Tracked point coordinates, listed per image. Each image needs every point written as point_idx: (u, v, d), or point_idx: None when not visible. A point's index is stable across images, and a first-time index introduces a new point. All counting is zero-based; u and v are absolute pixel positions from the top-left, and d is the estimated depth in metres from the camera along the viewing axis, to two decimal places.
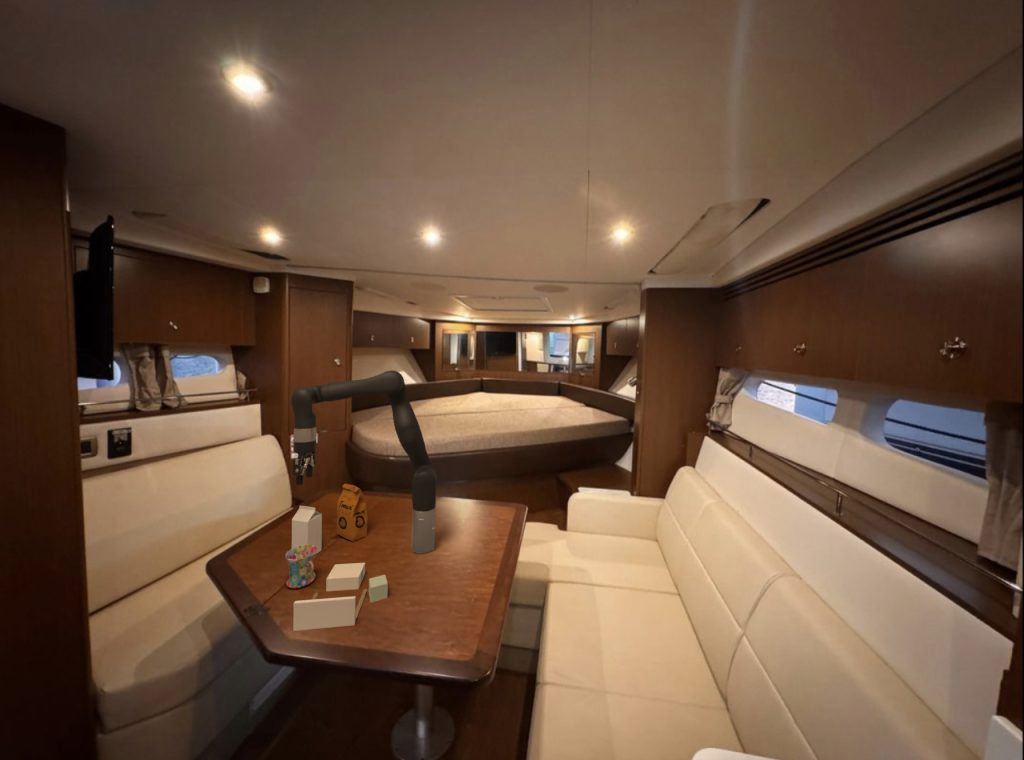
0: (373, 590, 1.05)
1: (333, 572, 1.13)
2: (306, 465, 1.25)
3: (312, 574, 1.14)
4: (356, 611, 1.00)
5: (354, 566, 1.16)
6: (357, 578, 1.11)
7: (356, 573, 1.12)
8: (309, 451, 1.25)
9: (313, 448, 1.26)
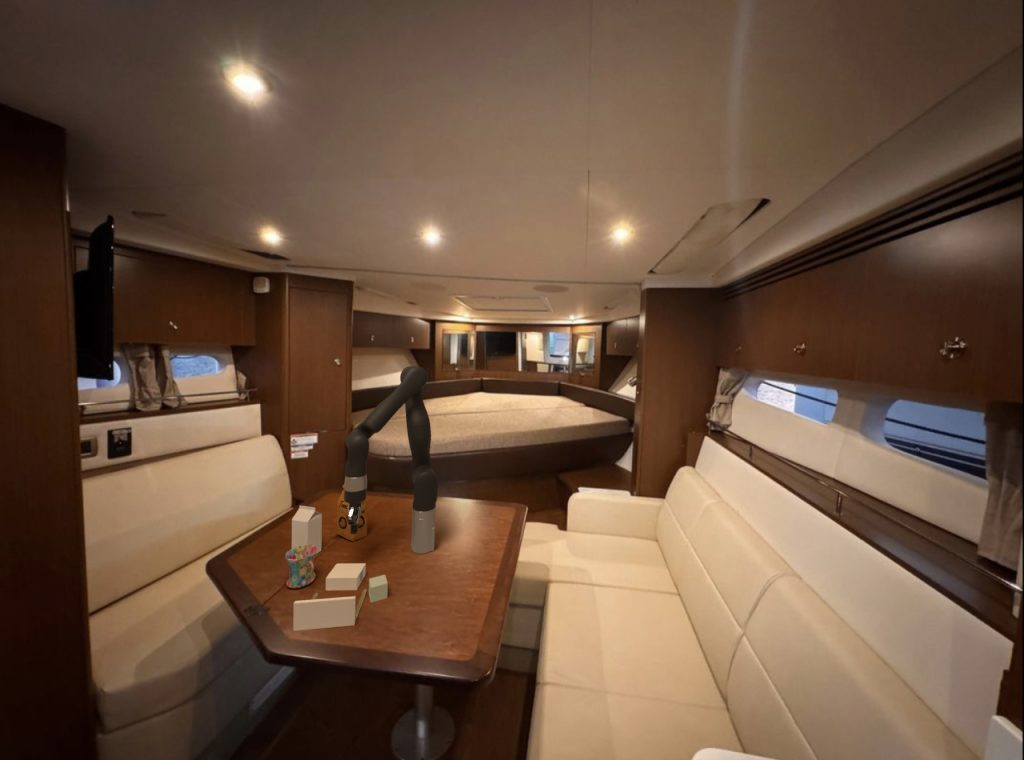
0: (373, 590, 1.05)
1: (333, 571, 1.13)
2: (358, 514, 1.21)
3: (312, 574, 1.14)
4: (356, 611, 1.00)
5: (354, 567, 1.16)
6: (355, 579, 1.10)
7: (355, 574, 1.12)
8: (360, 500, 1.20)
9: (364, 496, 1.21)
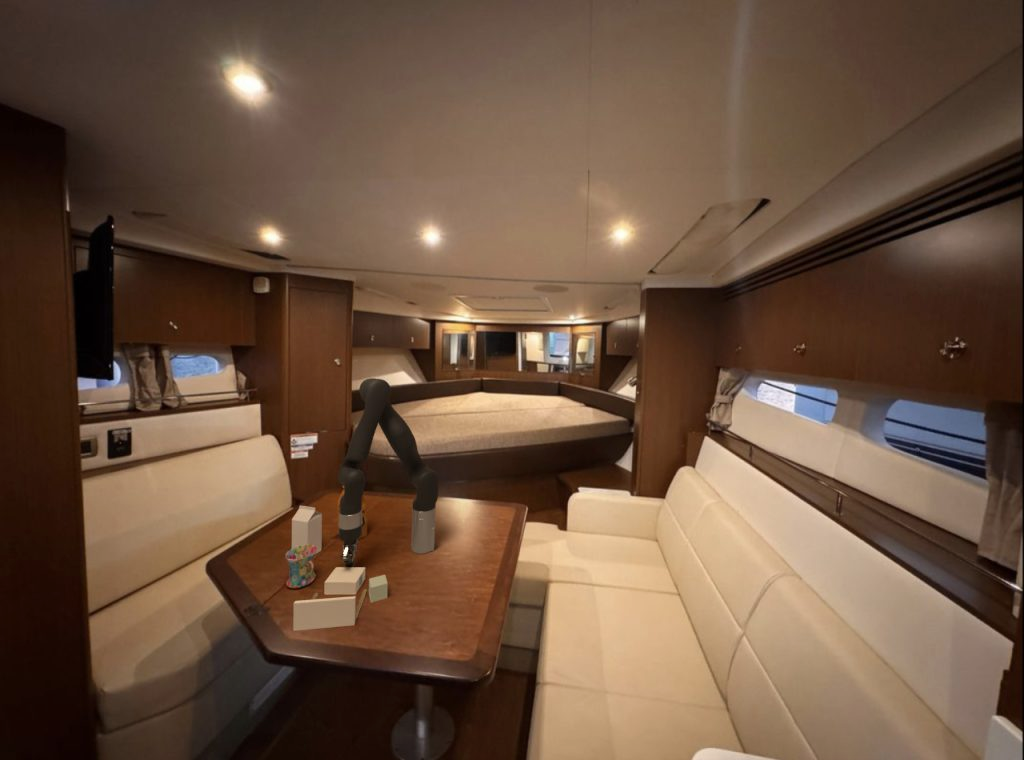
0: (373, 590, 1.05)
1: (332, 575, 1.11)
2: (354, 551, 1.17)
3: (312, 574, 1.14)
4: (356, 611, 1.00)
5: (354, 571, 1.14)
6: (354, 583, 1.08)
7: (354, 578, 1.10)
8: (355, 538, 1.16)
9: (359, 533, 1.17)
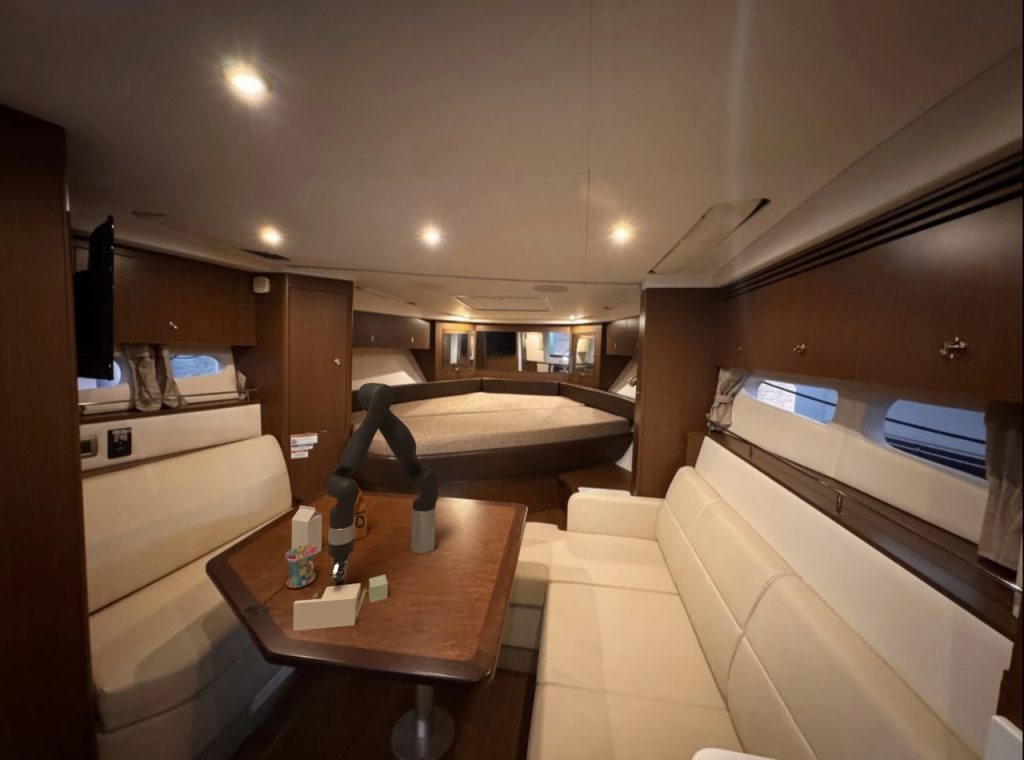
0: (373, 590, 1.05)
1: (325, 596, 1.01)
2: (345, 568, 1.08)
3: (312, 574, 1.14)
4: (356, 611, 1.00)
5: (349, 588, 1.05)
6: None
7: None
8: (347, 554, 1.06)
9: (351, 549, 1.07)
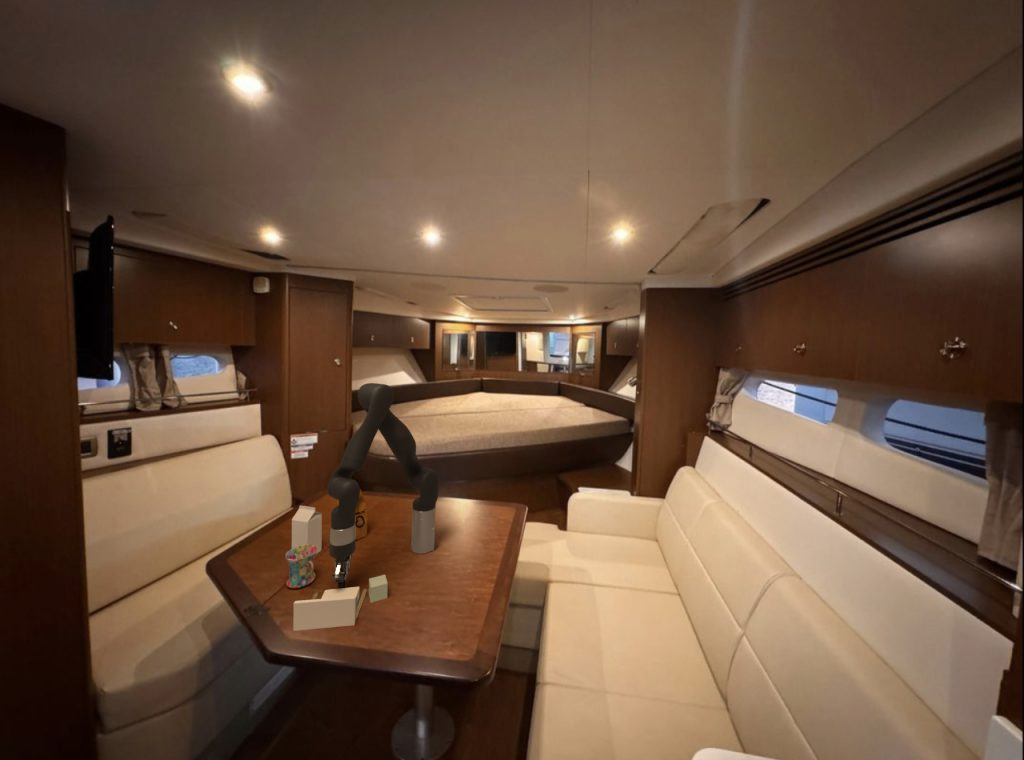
0: (373, 590, 1.05)
1: None
2: (347, 569, 1.08)
3: (312, 574, 1.14)
4: (356, 611, 1.00)
5: (347, 592, 1.04)
6: None
7: None
8: (348, 554, 1.06)
9: (352, 549, 1.07)
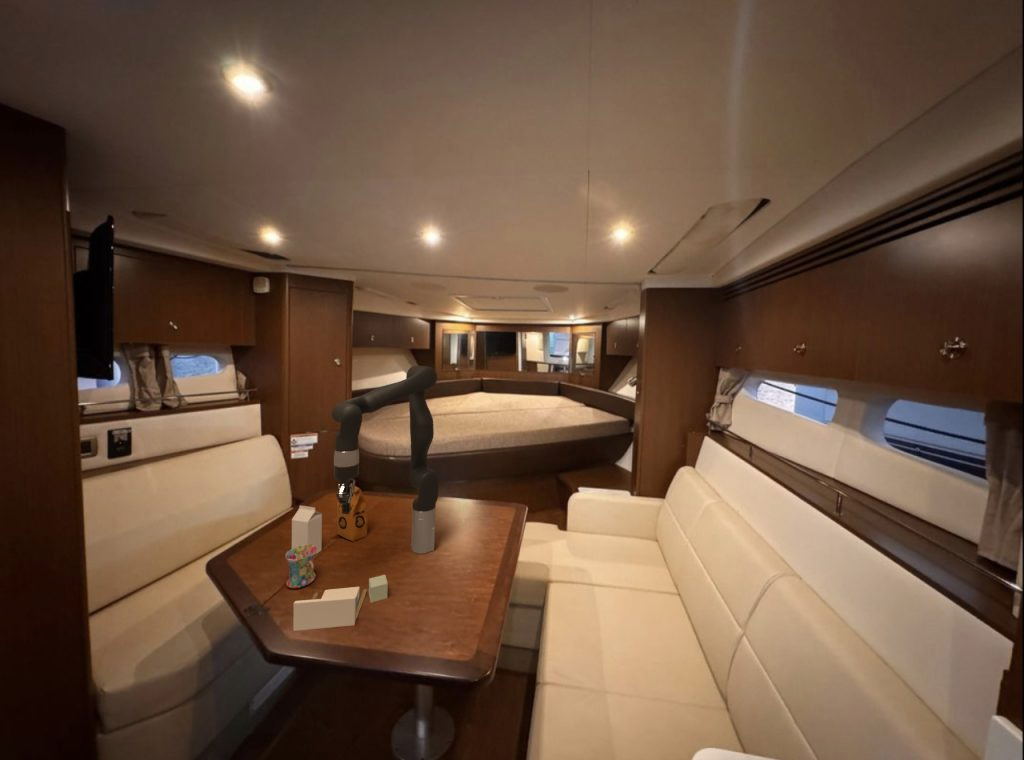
0: (373, 590, 1.05)
1: None
2: (350, 492, 1.11)
3: (312, 574, 1.14)
4: (356, 611, 1.00)
5: (347, 592, 1.04)
6: None
7: None
8: (352, 477, 1.09)
9: (356, 473, 1.10)
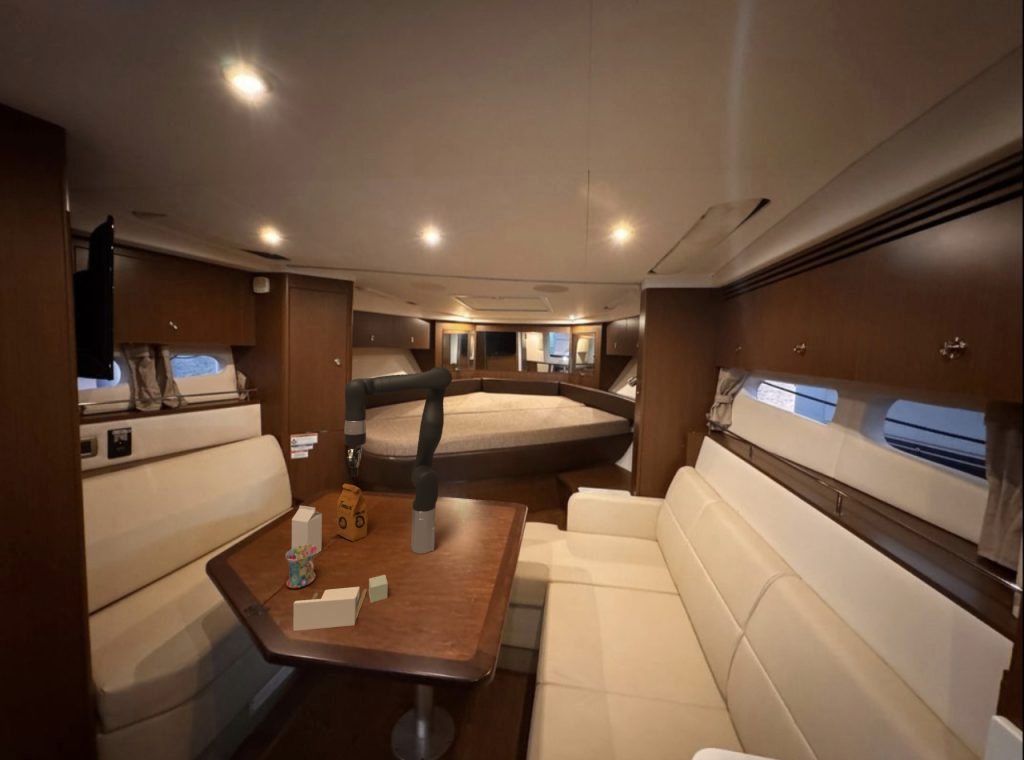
0: (373, 590, 1.05)
1: None
2: (358, 457, 1.26)
3: (312, 574, 1.14)
4: (356, 611, 1.00)
5: (347, 592, 1.04)
6: None
7: None
8: (360, 443, 1.24)
9: (363, 440, 1.26)
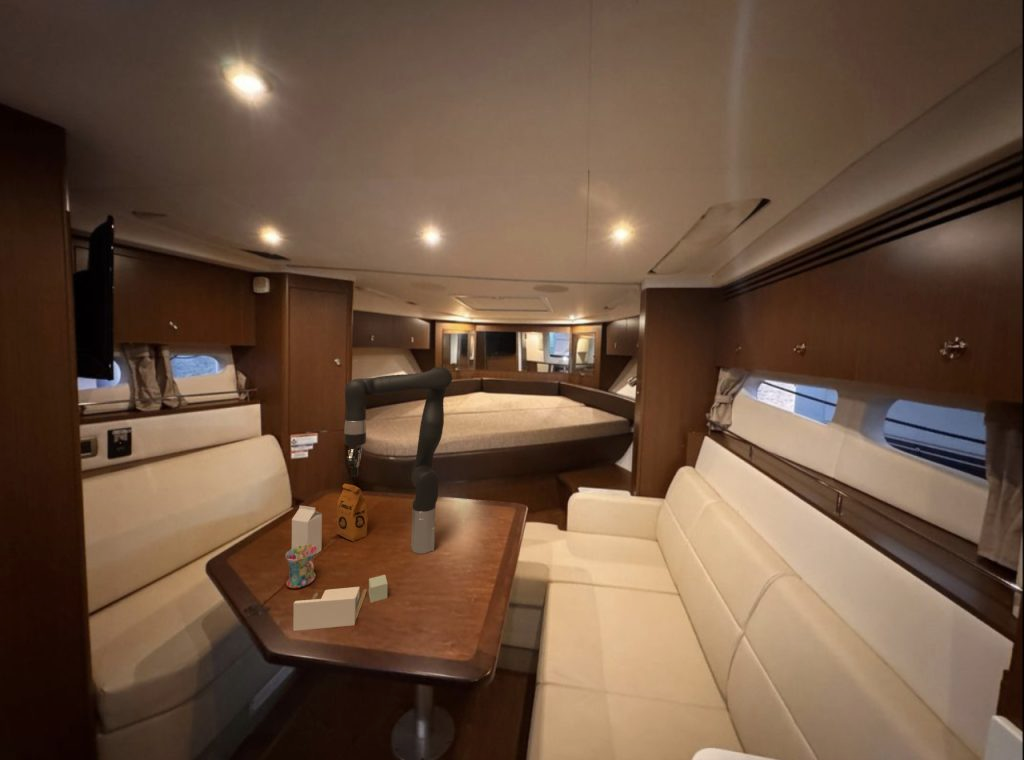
0: (373, 590, 1.05)
1: None
2: (358, 457, 1.26)
3: (312, 574, 1.14)
4: (356, 611, 1.00)
5: (347, 592, 1.04)
6: None
7: None
8: (360, 443, 1.24)
9: (363, 440, 1.26)
